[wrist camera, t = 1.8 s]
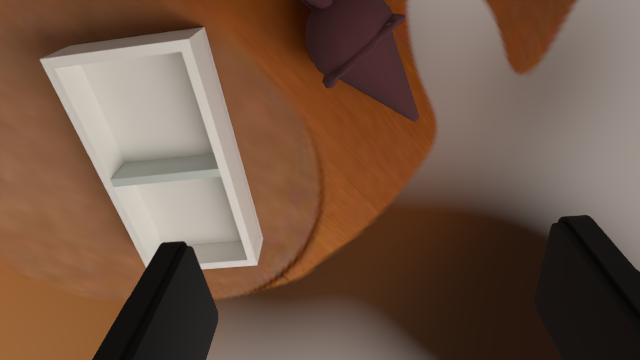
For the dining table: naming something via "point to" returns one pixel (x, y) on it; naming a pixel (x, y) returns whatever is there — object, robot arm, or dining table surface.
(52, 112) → the dining table surface
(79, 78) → the white divided tray
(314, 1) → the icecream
